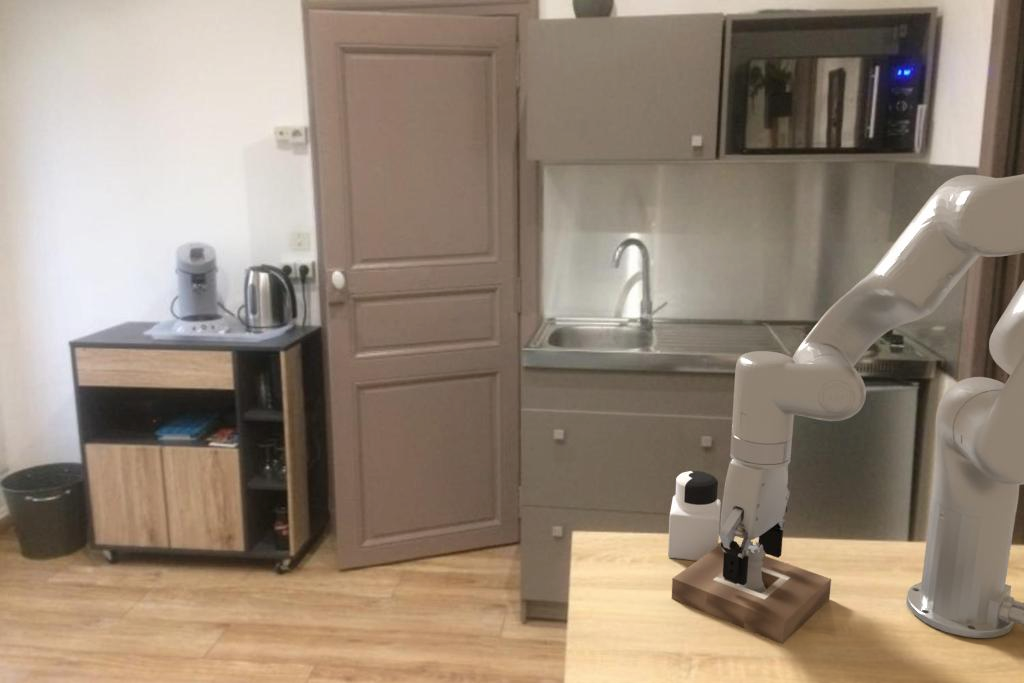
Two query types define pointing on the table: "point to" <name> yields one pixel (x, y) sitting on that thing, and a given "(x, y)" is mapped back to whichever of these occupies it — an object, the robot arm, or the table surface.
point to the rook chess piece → (755, 568)
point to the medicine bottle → (694, 516)
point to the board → (754, 595)
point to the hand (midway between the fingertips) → (752, 567)
